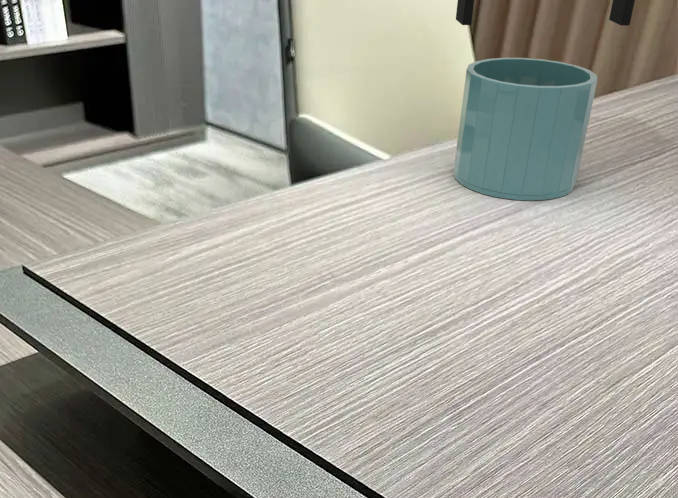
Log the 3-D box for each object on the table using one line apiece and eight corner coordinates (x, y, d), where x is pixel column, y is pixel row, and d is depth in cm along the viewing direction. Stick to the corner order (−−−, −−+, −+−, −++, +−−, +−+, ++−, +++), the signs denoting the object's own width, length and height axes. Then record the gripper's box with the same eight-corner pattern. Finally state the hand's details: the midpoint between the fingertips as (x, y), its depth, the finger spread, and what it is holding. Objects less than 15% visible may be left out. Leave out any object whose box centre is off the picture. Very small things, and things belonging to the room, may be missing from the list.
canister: (552, 159, 83) (572, 58, 78) (592, 200, 73) (617, 88, 68) (443, 159, 82) (455, 57, 77) (468, 200, 73) (484, 87, 68)
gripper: (430, -293, 56) (404, 30, 67) (785, -288, 57) (704, 31, 68) (412, -278, 63) (391, 14, 73) (731, -274, 63) (664, 15, 74)
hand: (541, 23), depth 71 cm, fingers open, 13 cm apart
